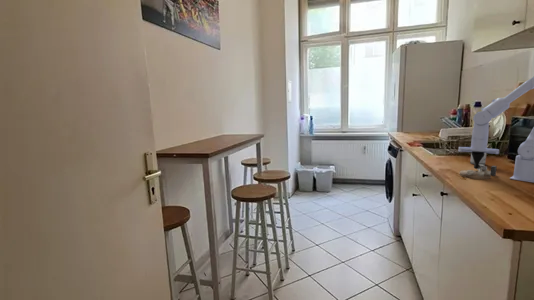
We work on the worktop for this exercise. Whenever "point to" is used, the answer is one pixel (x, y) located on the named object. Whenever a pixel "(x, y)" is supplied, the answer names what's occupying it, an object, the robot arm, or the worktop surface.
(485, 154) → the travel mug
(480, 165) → the hinged leg
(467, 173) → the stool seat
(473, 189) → the worktop surface
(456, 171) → the worktop surface
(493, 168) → the block
